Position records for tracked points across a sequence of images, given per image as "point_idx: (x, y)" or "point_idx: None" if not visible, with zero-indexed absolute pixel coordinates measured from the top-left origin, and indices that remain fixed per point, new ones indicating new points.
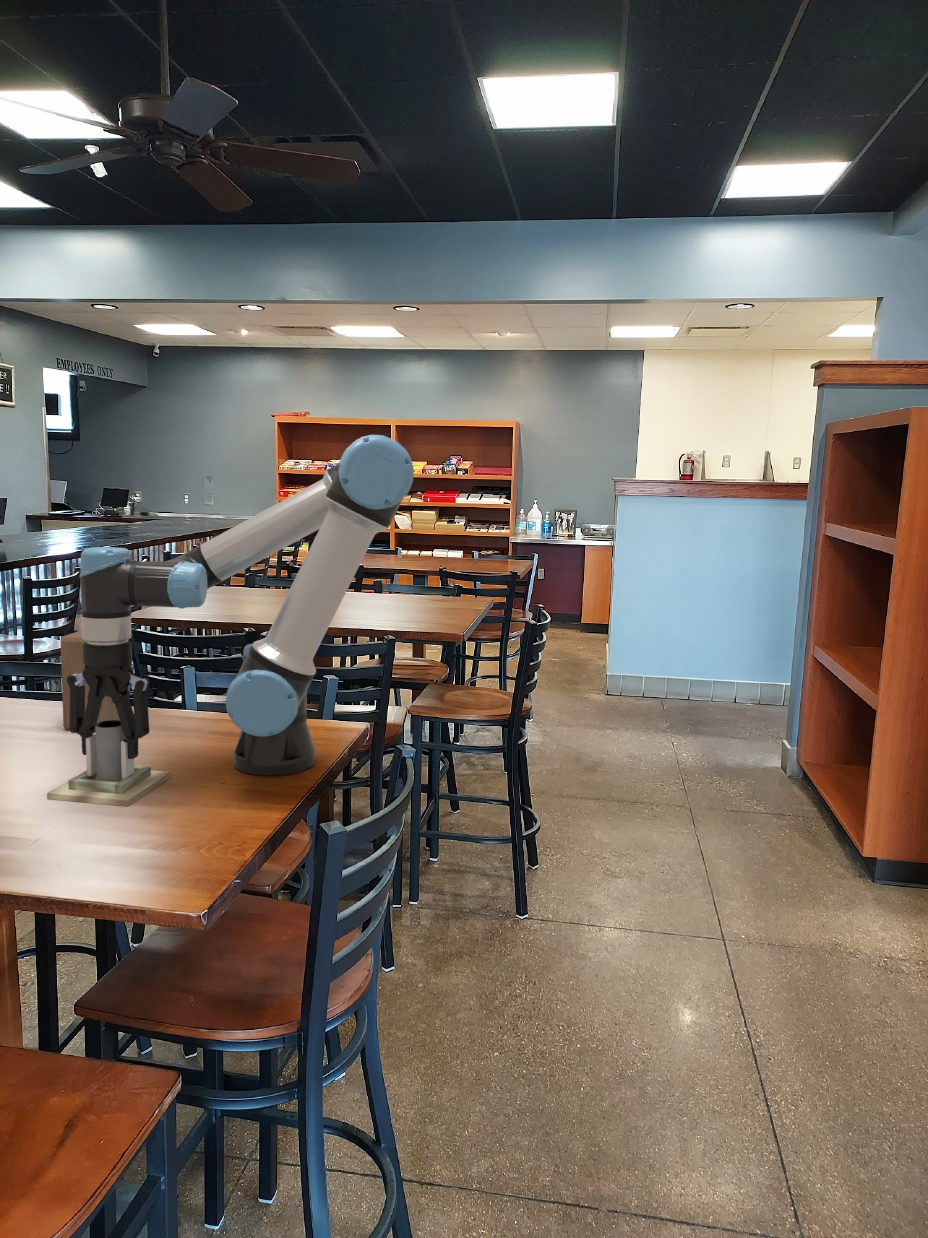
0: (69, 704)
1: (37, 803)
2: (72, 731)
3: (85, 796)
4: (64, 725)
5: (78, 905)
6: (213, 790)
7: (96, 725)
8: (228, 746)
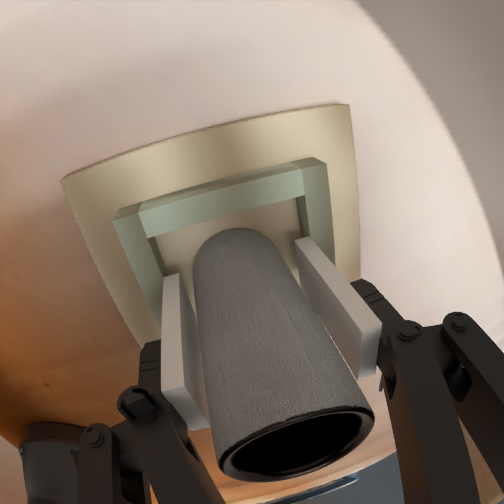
0: None
1: (339, 67)
2: (455, 316)
3: (210, 130)
4: None
5: None
6: (22, 353)
7: (356, 409)
8: (209, 468)
